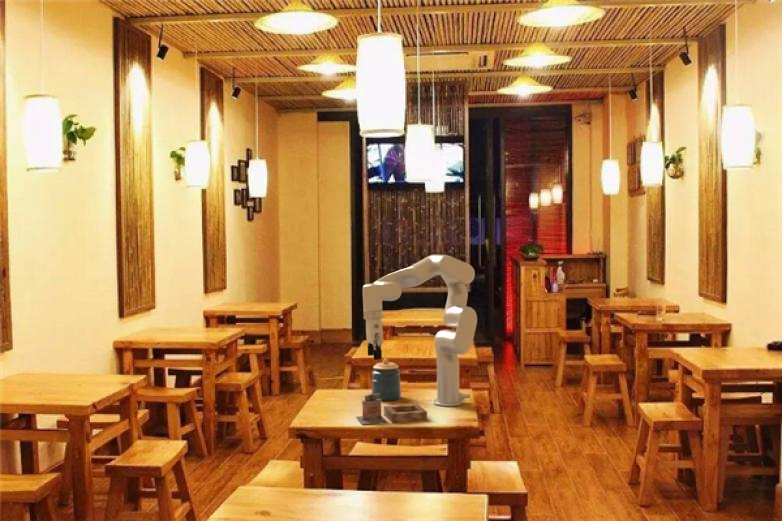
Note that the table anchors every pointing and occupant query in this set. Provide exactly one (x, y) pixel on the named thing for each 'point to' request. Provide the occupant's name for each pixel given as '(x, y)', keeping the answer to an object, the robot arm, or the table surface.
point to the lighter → (371, 407)
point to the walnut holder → (405, 413)
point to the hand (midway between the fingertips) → (374, 357)
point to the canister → (386, 381)
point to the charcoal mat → (371, 421)
